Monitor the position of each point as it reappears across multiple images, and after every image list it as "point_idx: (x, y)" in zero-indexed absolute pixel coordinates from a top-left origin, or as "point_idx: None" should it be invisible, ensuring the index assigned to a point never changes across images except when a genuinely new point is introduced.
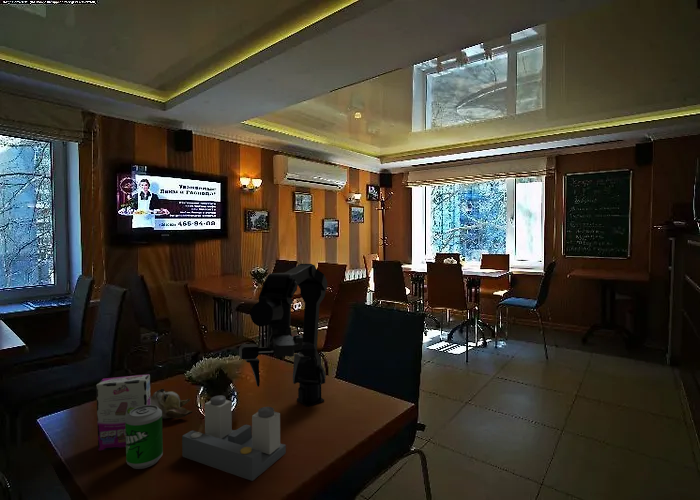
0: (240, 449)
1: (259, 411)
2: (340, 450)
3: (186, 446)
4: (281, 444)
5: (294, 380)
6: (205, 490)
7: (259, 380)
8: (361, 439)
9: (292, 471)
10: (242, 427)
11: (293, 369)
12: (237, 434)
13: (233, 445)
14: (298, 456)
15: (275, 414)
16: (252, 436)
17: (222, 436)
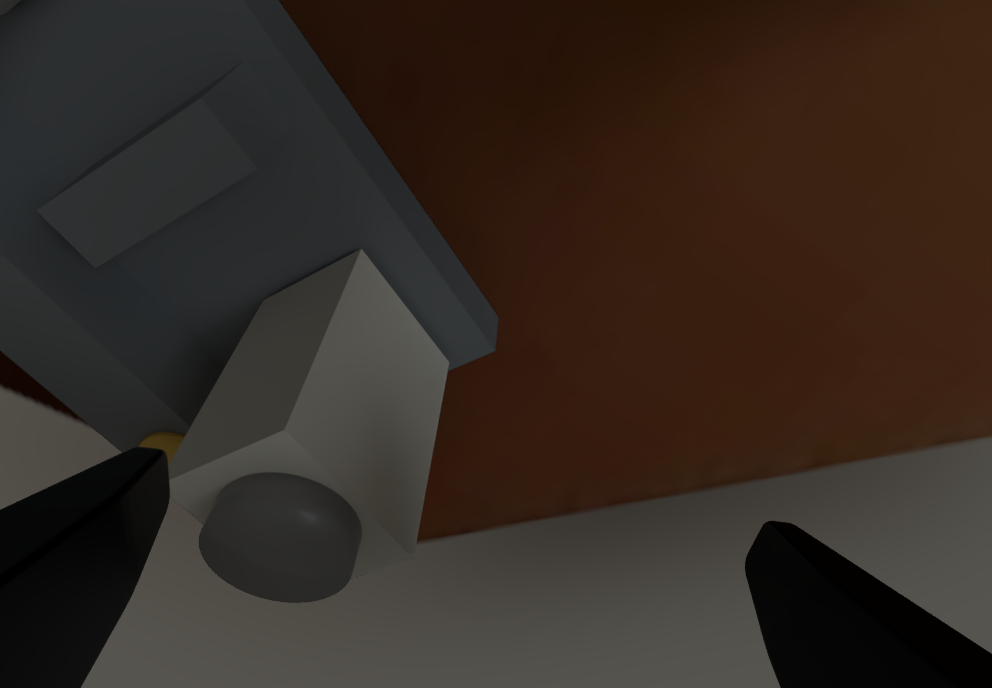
0: (140, 428)
1: (210, 548)
2: (784, 451)
3: None
4: (471, 333)
5: (759, 618)
6: (20, 374)
7: (121, 607)
8: (982, 434)
9: (456, 461)
10: (168, 146)
11: (920, 677)
12: (119, 241)
13: (92, 365)
14: (549, 380)
15: (366, 561)
16: (231, 359)
17: (15, 2)
